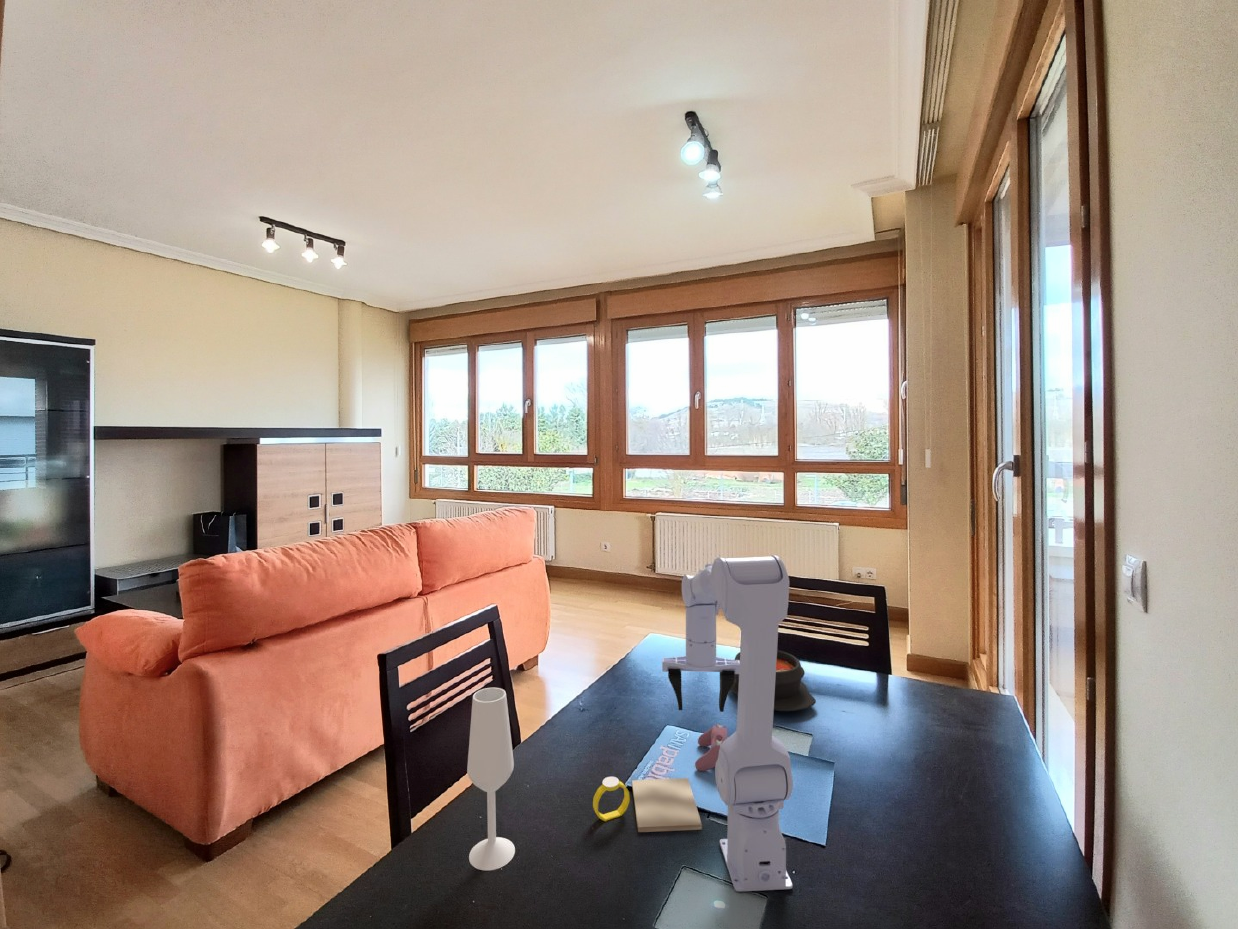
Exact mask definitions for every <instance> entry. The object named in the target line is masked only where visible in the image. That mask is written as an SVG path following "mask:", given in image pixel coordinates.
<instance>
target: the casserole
mask: <svg viewBox="0 0 1238 929" xmlns="http://www.w3.org/2000/svg"><path fill="white" fill-rule="evenodd" d="M734 660H739V661H740V652H738V653H737V654H736V655H735V657H734ZM805 672H806V671H805V670H804V668H803V667H802V665H801V662H800V660H799V659H798V658H797V657H796V656H794V655H792V654H791V653H788V652H785V651H782V650H779V649H777V660H776V677H775V694H774V711H778V712H796V711H803V710H805V709H809V708H811V707H812V706H814V705H815V704H816V702H817V701H816V700H817V699H816V698H815V697H814V696H813V695H812V694H811V693H810V691H809V689H808V687H807V686H806V684H805V683H804V682H803V681H802V679H803V678H804V676H805ZM734 675H735V681H734V684H733V685H732V687H731V689H730V691H731V692H732V693H733V694H735V695H736V696H738V688H739V674H735V673H734Z"/></svg>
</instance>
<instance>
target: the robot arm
mask: <svg viewBox="0 0 1238 929" xmlns="http://www.w3.org/2000/svg"><path fill="white" fill-rule="evenodd" d="M704 566H705V567H704V568H703V569H700V570H699V571H698V573H696V574H693V575H692V574H690V575H689V574H684V576H683V577H682V580H681V596H682V597H681V598H682V602H683V604H684V606H685V655H683V656H675V657H673V656H672V657H662V661H661V663H662V667H661V668H662V672H663V673H664V672H665V673H667V676H668V680H669V682H670V684H671V687H672V688H673V691H674V694H675V697H676V701H677V707H678V711H683V696H682V695H683V694H682V692H683V691H682V672H706V673H707V672H711V673H712V672H713V673H719V694H718V695H719V697H718V698H719V699H718V708H719V712H720V713H721V712H722V713H723V712H724V713H725V705H726V701H727V698H728V696H729V694H730V691H731V690H730V689H731V687H732V685H733V684H734V681H735V675H734V673H735V674H739V688H738V695H737V713H736V715H737V716H736V730H735V731H734V732H733V733H732V734H731V735H730V736H727V739H726V740H725V741H724V742H722V743H721V744H720V750H719V756H718V760H717V762H716V765H715V768H714V772H715V777H714V778H715V783H716V789H717V792H718V794H719V797H720V799H721V801H722V802H723V803H724V804H725V806H727V836H726V837H727V838H721V839H719V845H720V848H721V852H722V854H723V857H724V861H725V864H726V867H727V870H728V872H729V876H730V880H731V882H732V885H733V889H734V891H736V892H737V893H738V892H741V893H742V892H752V891H753V892H756V891H759V892H761V891H775V890H776V891H777V890H780V891H781V890H791V889H793V886H794V885H793V882H792V880H791V878H790V875H789V873H788V871H787V845H786V841H785V838H784V835H783V833H782V831H781V828H780V827H781V826H780V810H782V809H785V807H784V806H785V805H784V804H785V802H784V801H788V800H789V799H790V798H791V796H792V793H793V790H794V780H793V779H794V778H793V773H792V767H791V766H792V765H791V764H792V763H791V756H790V755H789V752H788V750H787V748H786V746H785V745H784V743H783V742H782V741H781V740H780V739H778V738H777V737H776V736H774V735H773V727H774V712H775V710H774V694H775V677H776V660H777V650H778V643H779V642H778V640H779V639H778V638H779V624H781V622H782V621H783V620H785V619H786V618H787V617H788V608H789V600H790V598H789V595H790V576H789V575H788V572H787V568H786V565H785V563H784V561H783V560H782V559H781V557H779V556H778V555H776V554H775V555H769V556H750V557H749V556H748V557H726V558H725V557H721V556H720V557H716V558H715V559H713V563H706V564H705V565H704ZM720 611H721V612H722V614H723V616H724V618H725V621H727V622H729V623H731V624H733V625H735V626H736V627H739V629H740V649H739V650H740V661H739V660H735V659H732V658H731V659H728V658H723V657H717V616H718V615H719V613H720Z"/></svg>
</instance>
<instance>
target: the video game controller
mask: <svg viewBox="0 0 1238 929" xmlns="http://www.w3.org/2000/svg"><path fill="white" fill-rule="evenodd" d="M728 731H729V730H728V728H727V727H725V726H724V725H722V724H721V725H720V724H719V723H717V724H715V725H713V726H712V727H710V728H709V729H708V730H707V731H705V732H703V733H702V734H701V735H700V736H698V739H697V744H698V745H699V746H700V747H701V748H702V747H703V748H706V747H710V748H709V750H708V751H707V752H706V753H705V754H703V755H701V756H700V757H698V758H697V759H696V761H695V764H694V766H695V769H696V770H697V771H699V772H707V771H709V770H711V769H713V768H714V767H715V765H716V762H717V760H718V756H719V750H720V744H721V743H722V742H724V741H725V740H726V739H727V738H728Z"/></svg>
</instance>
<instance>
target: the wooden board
mask: <svg viewBox="0 0 1238 929" xmlns="http://www.w3.org/2000/svg"><path fill="white" fill-rule="evenodd" d="M631 786H632V794H633V795H632V796H633V804H634V808H635V817H636V818H635V819H636V826H637V833H650V832H651V833H652V832H655V833H656V832H674V831H696V830H698V831H699V830H702V829H703V825H702V820H701V816H700V813H699V811H698V807H697V806H698V805H697V803H696V800H695V797H694V794H693V791H692V786H691V783H690V780H689V777H680V778H678V777H677V778H658V779H657V778H656V779H655V778H653V779H634V780H633V779H632V780H631Z"/></svg>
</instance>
